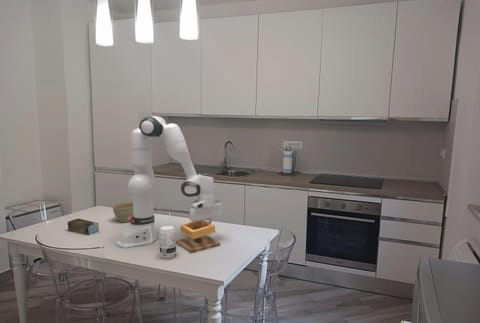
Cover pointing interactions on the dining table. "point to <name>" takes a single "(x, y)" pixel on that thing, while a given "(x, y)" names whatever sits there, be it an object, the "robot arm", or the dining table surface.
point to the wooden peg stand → (197, 243)
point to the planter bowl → (123, 211)
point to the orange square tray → (193, 234)
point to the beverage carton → (83, 226)
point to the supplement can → (167, 242)
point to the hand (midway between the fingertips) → (206, 226)
